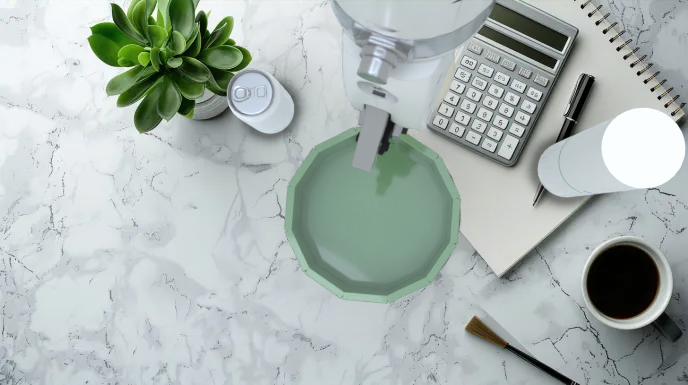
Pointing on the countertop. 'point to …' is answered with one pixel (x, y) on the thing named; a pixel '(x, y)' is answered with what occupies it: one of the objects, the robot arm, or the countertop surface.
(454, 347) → the countertop surface
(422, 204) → the bowl
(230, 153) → the countertop surface
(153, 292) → the countertop surface
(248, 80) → the can
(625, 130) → the cylindrical container
